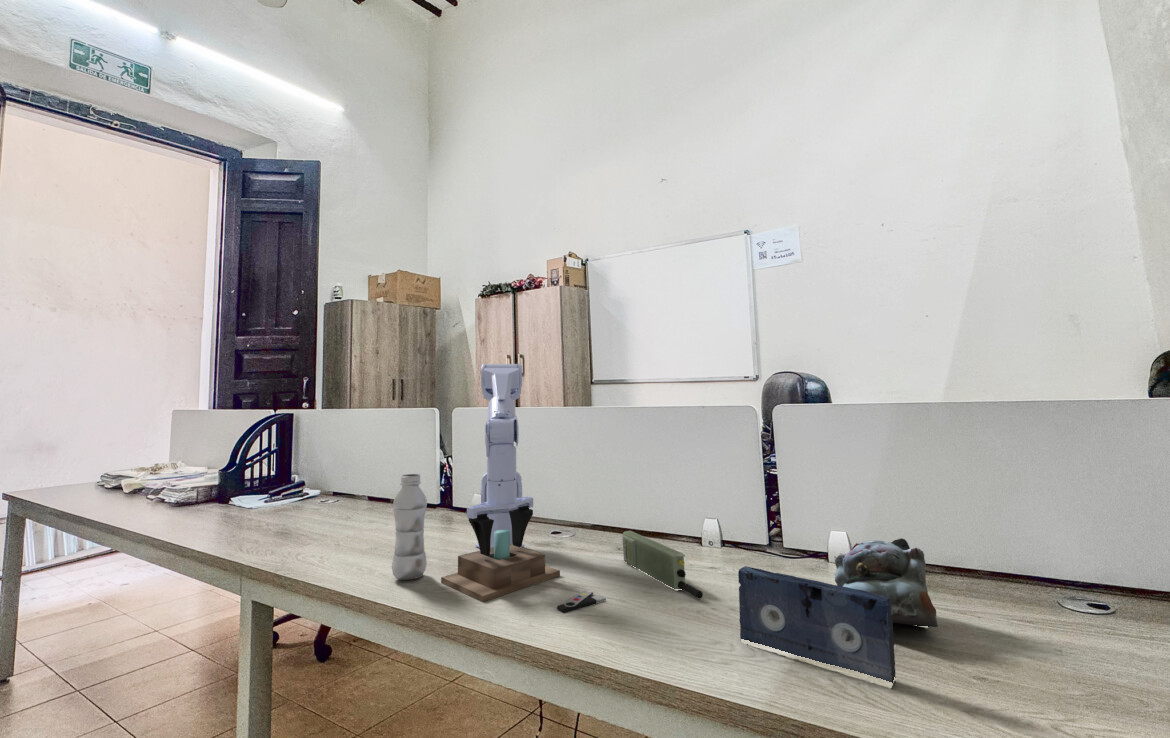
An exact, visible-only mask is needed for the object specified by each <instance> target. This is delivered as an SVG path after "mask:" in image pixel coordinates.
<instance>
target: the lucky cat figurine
mask: <svg viewBox="0 0 1170 738" xmlns="http://www.w3.org/2000/svg"><path fill="white" fill-rule="evenodd" d="M834 564H835V567H836V570H835V572H834V582H835V583H836V584H835V585H837V586H843V587H848V588H852V589H858V590H863V591H867V592H871V593H875V594H879V595H886V596H891V618H892V622H893V624H900V625H909V626H912V625H917V626H928V627H929V628H938V627H939V624H938V621H937V610H936V608H935V606H934V605H933V603H932V599H931V598H930V596H929V592H928V587H927V584H926V583H927V582H926V578H927V577H926V567H927V564H926V559H925V553H924V551H923V550H922V549H920V548H918V547H915V546H914V547H911V548H910V545H909V543H908V541H907V540H906V538H902V537H901V538H897V539H894V540H893V541H891V542H890V541H886V540H885V541H884V540H874V539H873V540H870V541H863V542H862V541H861V542H859V543H857V542H856V543H855V544H854V545H853V546H852V548H850V551H848V552H847V553H841V552H840V553H839V555H837V556H836V555H834Z"/></svg>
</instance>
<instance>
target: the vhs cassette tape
mask: <svg viewBox="0 0 1170 738" xmlns="http://www.w3.org/2000/svg"><path fill="white" fill-rule="evenodd" d="M737 572H738V584H739V586H738V602H739V603H738V604H739V607H738V608H739V610H738V611H739V626H740V628H739V632H740V633H739V638H740V640H741V639H744V640H749V641H750V642H754V643H758V644H762V645H765V646H769V647H772V648H775V649H779V650H781V651H785V652H788V653H791V654H794V655H797V656H801V657H805V658H809V659H812V660H815V661H819V662H822V663H826V664H830V665H835V666H839V667H842V668H846V669H850V670H854V671H858V672H860V673H864V674H867V675H870V676H873V677H876V678H881V679H883V680H886V681H889V682H892V683H893V680H894V677H895V678H896V660H895V658H896V657H895V638H894V623H893V622H892V618H891V596H886V595H879V594H875V593H871V592H867V591H863V590H858V589H852V588H848V587H843V586H837V584H831V583H827V582H823V581H819V580H815V579H809V578H805V577H799V576H798V577H797V576H794V575H789V574H783V573H778V572H772V571H769V570H764V569H762V568H757V567H756V568H755V567H752V566H747V565H744V566H743V567H740V568H739V569H738V571H737Z"/></svg>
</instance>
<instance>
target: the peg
mask: <svg viewBox="0 0 1170 738" xmlns="http://www.w3.org/2000/svg"><path fill="white" fill-rule="evenodd" d="M509 557H510V531H509V530H497V531H495V532H494V559H497V560H502V559H505V558H509Z"/></svg>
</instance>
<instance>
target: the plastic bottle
mask: <svg viewBox="0 0 1170 738" xmlns="http://www.w3.org/2000/svg"><path fill="white" fill-rule="evenodd" d="M421 483H422V482H421V474H420V473H407V474H402V475H401V476H400V483H399V484H400V486H401V488H400V489H399V491H398V492H397V494H396V495H395V497H394V499H393V502H392V505H393V506H392V507H393V515H394V516H393V517H394V523H395V525H394V526H395V528H394V529H395V543H394V551H393V554H394V555H393V556H392V557H393V558H392V562H391V569H392V570H391V571H392V575H393V576H394V578H395V579H396V580H401V581H403V580H404V581H406V580H408V581H409V580H414V579H418V578H420V577H422V576H423V575H424V573H425V572H426V570H427V569H426V568H427V564H428V563H427V555H426V550H425V538H424V535H425V534H424V533H425V530H424V529H425V519H426V513H427V505H428V500H427V496H426V495H425V493H424V491H423V490H422V488H421V487H420V485H421Z"/></svg>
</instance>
